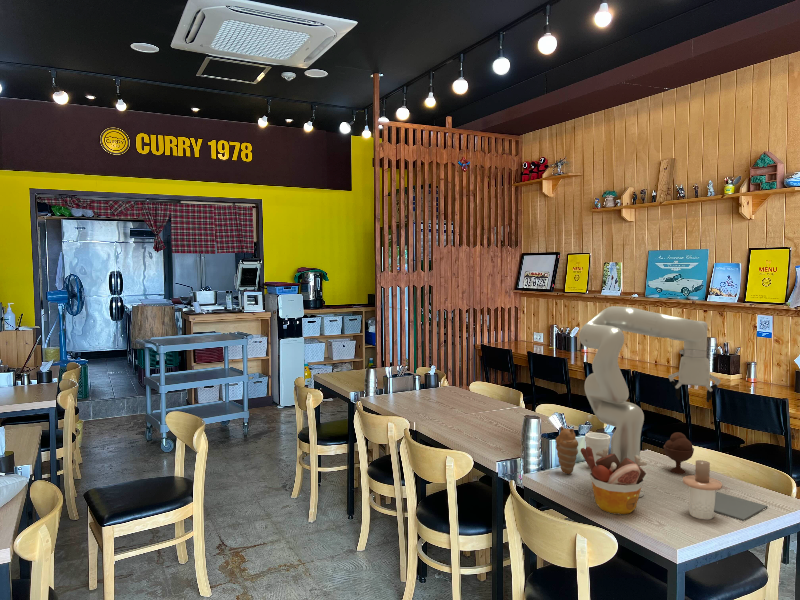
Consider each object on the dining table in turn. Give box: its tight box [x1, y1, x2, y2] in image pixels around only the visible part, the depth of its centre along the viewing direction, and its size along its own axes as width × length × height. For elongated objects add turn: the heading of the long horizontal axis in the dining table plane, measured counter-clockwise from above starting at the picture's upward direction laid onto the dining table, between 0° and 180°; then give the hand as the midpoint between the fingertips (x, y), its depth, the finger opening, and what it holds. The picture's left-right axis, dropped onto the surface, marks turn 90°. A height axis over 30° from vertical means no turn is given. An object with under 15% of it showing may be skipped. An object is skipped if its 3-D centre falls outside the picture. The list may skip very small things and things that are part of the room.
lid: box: [682, 459, 723, 491], centre depth 186 cm, size 11×11×7 cm
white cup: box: [687, 486, 717, 521], centre depth 186 cm, size 8×8×10 cm
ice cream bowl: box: [662, 431, 695, 475], centre depth 228 cm, size 11×11×15 cm
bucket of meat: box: [580, 447, 648, 515], centre depth 191 cm, size 20×16×20 cm
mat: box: [714, 491, 769, 522], centre depth 194 cm, size 18×16×1 cm
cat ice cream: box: [554, 425, 579, 475], centre depth 225 cm, size 9×8×18 cm
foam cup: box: [584, 432, 611, 466], centre depth 232 cm, size 10×9×13 cm
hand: (693, 400), depth 218 cm, fingers open, 9 cm apart
